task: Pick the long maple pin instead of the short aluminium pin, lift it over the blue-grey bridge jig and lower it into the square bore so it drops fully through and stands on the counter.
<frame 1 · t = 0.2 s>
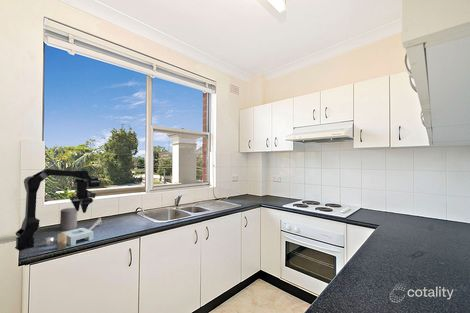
hand: (80, 211, 145), 14 cm above the worktop, fingers open, 9 cm apart
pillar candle: (68, 228, 155), on the worktop
aluminium pin: (49, 245, 126), on the worktop
caliper: (93, 229, 154), on the worktop
maple pin: (61, 248, 122), on the worktop
bridge jig: (77, 240, 133), on the worktop
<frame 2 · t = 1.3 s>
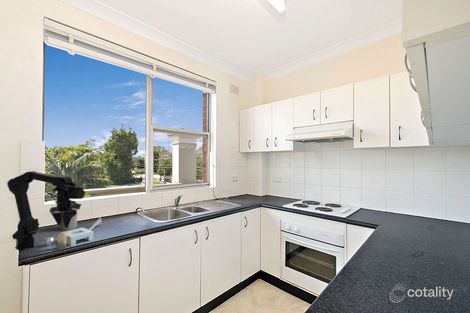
hand: (62, 226, 122), 12 cm above the worktop, fingers open, 9 cm apart
nothing on the worktop moved.
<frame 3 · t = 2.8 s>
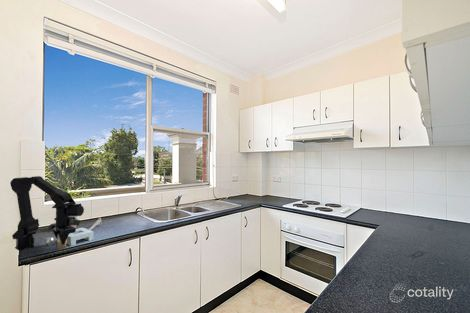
hand: (61, 243, 122), 3 cm above the worktop, fingers closed on maple pin, 4 cm apart
maple pin: (61, 248, 122), on the worktop, touching gripper
everything else where it was.
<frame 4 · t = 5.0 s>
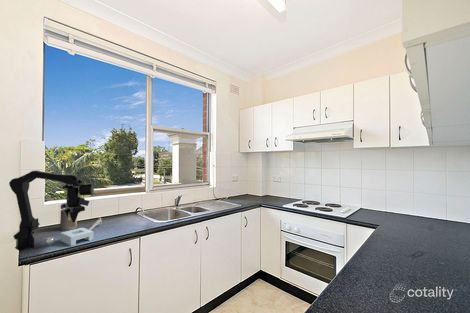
hand: (72, 221, 129), 13 cm above the worktop, fingers closed on maple pin, 4 cm apart
maple pin: (72, 226, 129), point 10 cm above the worktop, touching gripper
everything else where it was.
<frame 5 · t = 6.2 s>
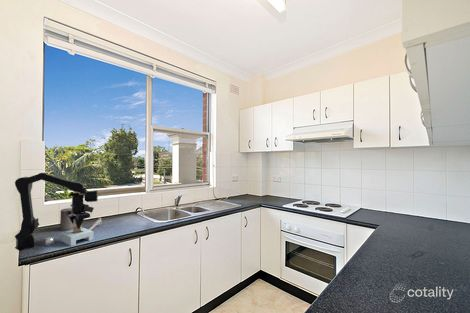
hand: (77, 228, 133), 7 cm above the worktop, fingers closed on maple pin, 4 cm apart
maple pin: (77, 232, 133), point 5 cm above the worktop, touching gripper
everything else where it was.
when the fingers open (6 cm above the worktop, at t = 7.1 s): maple pin drops 3 cm, on the worktop.
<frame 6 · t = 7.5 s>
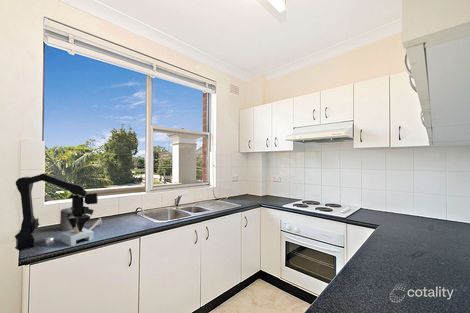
hand: (77, 230, 133), 6 cm above the worktop, fingers open, 8 cm apart
maple pin: (77, 240, 133), on the worktop
everything else where it was.
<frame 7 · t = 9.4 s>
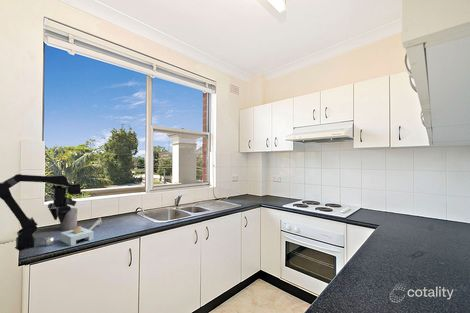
hand: (58, 221, 133), 12 cm above the worktop, fingers open, 9 cm apart
nothing on the worktop moved.
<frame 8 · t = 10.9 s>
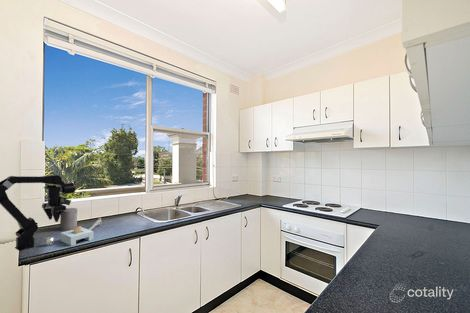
hand: (53, 220, 133), 12 cm above the worktop, fingers open, 9 cm apart
nothing on the worktop moved.
at the end: maple pin 0.1 cm off-centre on the bridge jig, point 0.0 cm above the bridge jig's base; maple pin tilted 0°; the gripper is holding nothing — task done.
